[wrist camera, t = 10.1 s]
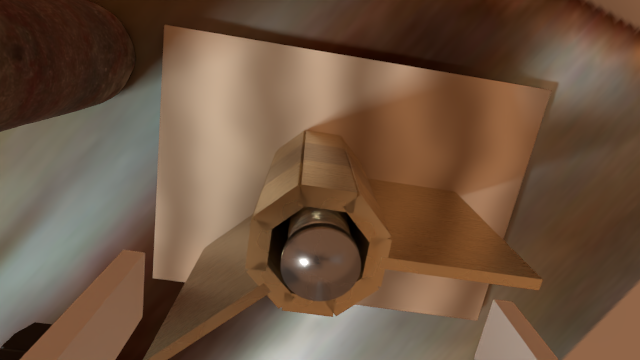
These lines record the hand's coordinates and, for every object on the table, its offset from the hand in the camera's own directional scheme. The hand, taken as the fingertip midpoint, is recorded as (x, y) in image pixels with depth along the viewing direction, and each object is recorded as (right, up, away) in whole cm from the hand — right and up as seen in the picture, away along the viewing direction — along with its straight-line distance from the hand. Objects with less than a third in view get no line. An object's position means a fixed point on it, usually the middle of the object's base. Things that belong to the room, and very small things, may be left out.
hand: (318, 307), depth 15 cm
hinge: (+1, +3, +17) cm, 17 cm away
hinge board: (+2, +4, +18) cm, 18 cm away
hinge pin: (0, +5, +16) cm, 17 cm away
